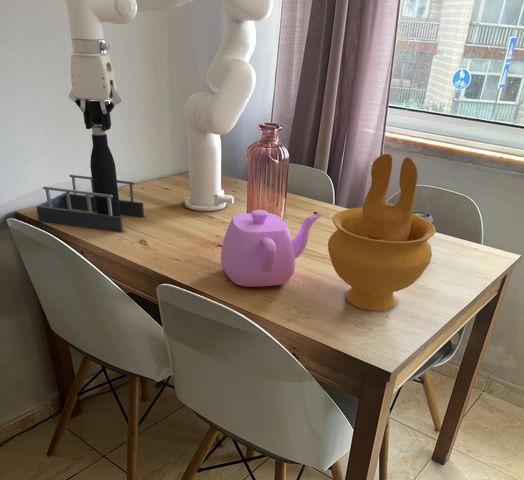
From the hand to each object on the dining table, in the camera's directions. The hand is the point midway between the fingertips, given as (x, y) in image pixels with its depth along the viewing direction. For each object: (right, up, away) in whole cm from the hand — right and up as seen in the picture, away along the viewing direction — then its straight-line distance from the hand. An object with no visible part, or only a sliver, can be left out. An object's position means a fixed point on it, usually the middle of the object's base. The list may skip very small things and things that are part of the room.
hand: (98, 128), depth 140 cm
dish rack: (-5, -20, +14) cm, 25 cm away
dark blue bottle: (-1, -20, +13) cm, 24 cm away
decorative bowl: (+66, -46, -22) cm, 83 cm away
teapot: (+42, -40, -14) cm, 59 cm away
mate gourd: (+84, -28, +8) cm, 89 cm away
